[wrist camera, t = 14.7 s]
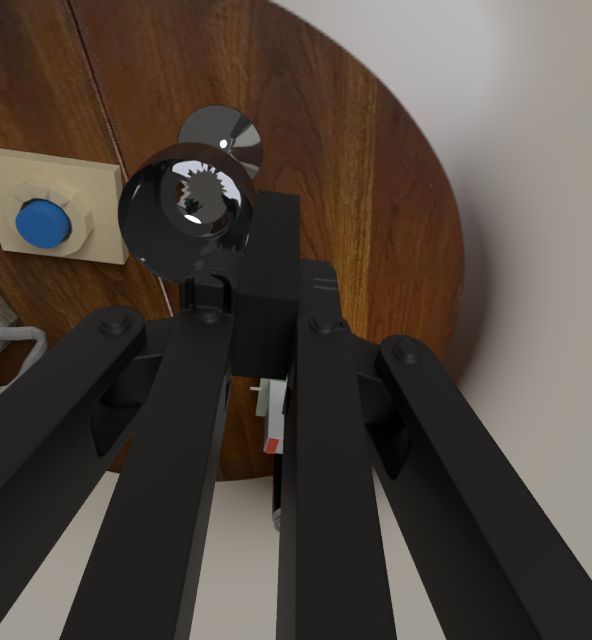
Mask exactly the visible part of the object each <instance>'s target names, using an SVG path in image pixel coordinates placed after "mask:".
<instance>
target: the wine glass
mask: <svg viewBox="0 0 592 640" xmlns="http://www.w3.org/2000/svg"><path fill="white" fill-rule="evenodd" d="M262 155H263V151H262V143H261V139H260V136H259V134H258V131H257V130H256V128H255V126H254V125H253V123H252V122H251V121H250V120H249V119H248V118H247V117H246V116H245V115H244V114H242V113H241V112H239V111H237V110H236V109H234V108H231V107H228V106H224V105H208V106H204V107H202V108H199V109H197V110H196V111H194V112H193V113H191V114H190V115H189V116H188V118H187V119H186V120H185V122H184V123H183V125H182V127H181V130H180V132H179V138H178V144H174V145H172V146H169V147H167V148H165V149H163V150H161V151H159V152H157V153H156V154H154V155H153V156H151V157H150V158H148V159H147V160H146V161H145V162H144V163H143V164H142V165H141V166H140V167H139V168H138V169H137V170H136V171H135V173H134V174H133V175H132V176H131V178H130V179H129V180H128V182H127V184H126V185H125V187H124V189H123V190H122V193H121V196H120V199H119V203H118V212H117V215H118V225H119V228H120V232H121V236H122V238H123V240H124V242H125V244H126V246H127V247H128V249H129V250H130V252H131V253H132V255H133V256H134V257H135V258H136V259H137V260H138V261H139V262H140V264H142V265H143V266H144V267H145V268H146V269H148V270H149V271H150V272H152V273H154V274H155V275H157V276H159V277H160V278H162V279H165V280H167V281H169V282H172V283H176V284H179V281H180V279H181V278H182V277H183V276H184V275H186V274H188V273H190V272H192V271H197V270H201V269H202V266H203V263H204V260H205V257H206V256H207V255H208V254H210V253H211V252H212V251H214V250H215V249H219V250H227V251H235V252H243V253H245V251H246V246H247V241H248V236H249V231H250V226H251V221H252V216H253V211H254V206H255V202H256V197H257V194H256V190H255V187H254V184H253V182H252V180H253V178H254V177H255V176H256V174H257V172H258V170H259V169H260V166H261V162H262Z"/></svg>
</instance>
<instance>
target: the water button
mask: <svg viewBox="0 0 592 640" xmlns="http://www.w3.org/2000/svg"><path fill="white" fill-rule="evenodd" d="M15 224H16V228H17V230H18V232H19V234H20V235H21V236H22V237H23V239H25V240H26V241H27V242H28V243H30V244H32V245H34V246H36V247H39V248H46V249H47V248H53V247H55V246H57V245H58V244H59V243H60V242H61V241H62V240H63V239H64V238H65V236H66V235H67V234H68V233H69V230H70V222H69V219H68V217H67V215H66V214H65V213H64V211H63V210H62V209H61V208H59V207H58V206H57V205H55V204H53V203H51V202H48V201H42V200H38V201H34V202H31V203H30V204H29V205H27V206H26V207H25V208H24V209H23V210H22V211H20V212H19V213H18V214H17V216H16V220H15Z"/></svg>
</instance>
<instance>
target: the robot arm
mask: <svg viewBox="0 0 592 640" xmlns="http://www.w3.org/2000/svg"><path fill="white" fill-rule="evenodd" d="M179 292H180V312H179V314H177V315H175V316H173V317H170V318H165V319H159V320H149V321H145V318H144V316H143V314H142V313H141V312H140V311H139V310H136V309H134V308H132V307H127V306H120V305H118V306H108V307H104V308H101V309H98V310H96V311H94V312H93V313H91V314H89V315H88V316H87V317H86V318H84V319H83V320H82V321H81V322H80V323H79V324H78V325H77V326H76V327H74V328H73V329H72V330H71V331H70V332H69V333H68V334H67V335H66V336H64V337H63V338H62V339H61V340H60V341H59V342H58V343H57V344H55V345H54V346H53V347H52V348H51V349H50V350H49V351H48V352H47V353H45V354H44V355H43V356H42V357H41V358H40V359H39V360H38V361H37V362H35V363H34V364H33V365H32V366H31V367H30V368H29V369H28V370H26V371H25V372H24V373H23V374H22V375H21V376H20V377H19V378H18V379H16V380H15V381H14V382H13V383H12V384H11V385H10V386H9V387H8V388H6V389H5V390H4V391H3V392H2V393H1V394H0V623H1V622H2V620H3V619H4V617H5V616H6V614H7V613H8V611H9V610H10V609H11V607H12V606H13V604H14V603H15V601H16V600H17V598H18V597H19V596H20V594H21V593H22V591H23V590H24V588H25V587H26V586H27V584H28V583H29V581H30V580H31V578H32V577H33V575H34V574H35V573H36V571H37V570H38V568H39V567H40V565H41V564H42V562H43V561H44V560H45V558H46V557H47V555H48V554H49V552H50V551H51V550H52V548H53V547H54V545H55V544H56V542H57V541H58V540H59V538H60V537H61V535H62V534H63V532H64V531H65V529H66V528H67V527H68V525H69V524H70V522H71V521H72V519H73V518H74V517H75V515H76V514H77V512H78V511H79V509H80V508H81V506H82V505H83V504H84V502H85V500H86V499H87V498H88V496H89V495H90V494H91V492H92V491H93V489H94V488H95V486H96V485H97V483H98V482H99V481H100V479H101V478H102V476H103V475H104V473H105V472H106V471H107V469H108V468H109V466H110V465H111V463H112V462H113V460H114V459H115V458H116V456H117V455H118V453H119V452H120V450H121V449H122V447H123V446H124V445H125V443H126V442H127V440H128V439H129V437H130V436H131V435H132V433H133V432H134V430H135V429H136V427H137V429H136V432H135V434H134V437H133V440H132V443H131V445H130V448H129V451H128V454H127V456H126V459H125V462H124V464H123V467H122V470H121V473H120V475H119V478H118V481H117V484H116V486H115V489H114V492H113V495H112V497H111V500H110V503H109V506H108V508H107V511H106V514H105V517H104V519H103V522H102V525H101V528H100V530H99V533H98V535H97V538H96V541H95V544H94V546H93V549H92V552H91V555H90V557H89V560H88V563H87V565H86V568H85V571H84V574H83V576H82V579H81V582H80V585H79V587H78V590H77V593H76V596H75V598H74V601H73V604H72V606H71V609H70V612H69V615H68V618H67V620H66V623H65V626H64V628H63V631H62V634H61V636H60V639H59V640H189V637H190V631H191V625H192V619H193V613H194V607H195V601H196V595H197V588H198V583H199V576H200V571H201V564H202V558H203V552H204V546H205V541H206V535H207V528H208V522H209V516H210V510H211V503H212V498H213V492H214V486H215V480H216V474H217V468H218V462H219V456H220V450H221V444H222V438H223V432H224V426H225V420H226V414H227V408H228V402H229V396H230V389H231V376H243V377H253V378H263V379H273V380H283V381H286V380H287V386H286V391H285V397H284V403H283V408H282V414H284V431H283V458H282V485H281V513H280V540H279V541H280V542H279V568H278V595H277V622H276V640H397V636H396V629H395V622H394V615H393V609H392V602H391V595H390V589H389V582H388V575H387V569H386V563H385V556H384V549H383V542H382V536H381V530H380V522H379V517H378V509H377V503H376V496H375V490H374V483H373V476H372V469H371V463H370V458H371V460H372V463H373V465H374V468H375V470H376V472H377V475H378V477H379V480H380V482H381V484H382V487H383V489H384V492H385V494H386V496H387V499H388V501H389V503H390V506H391V508H392V511H393V513H394V516H395V518H396V520H397V522H398V525H399V528H400V530H401V532H402V535H403V537H404V539H405V542H406V544H407V546H408V549H409V551H410V554H411V556H412V559H413V561H414V563H415V566H416V568H417V571H418V573H419V575H420V578H421V580H422V583H423V585H424V587H425V590H426V592H427V594H428V597H429V599H430V602H431V604H432V606H433V609H434V611H435V614H436V616H437V618H438V621H439V623H440V625H441V628H442V630H443V633H444V635H445V637H446V640H592V580H591V579H590V577H589V576H588V574H587V573H586V571H585V570H584V569H583V567H582V566H581V564H580V563H579V561H578V560H577V558H576V557H575V556H574V554H573V553H572V551H571V550H570V548H569V547H568V546H567V544H566V543H565V541H564V540H563V538H562V537H561V536H560V534H559V533H558V531H557V530H556V528H555V527H554V525H553V524H552V523H551V521H550V520H549V518H548V517H547V515H546V514H545V513H544V511H543V510H542V508H541V507H540V505H539V504H538V503H537V501H536V500H535V498H534V497H533V495H532V494H531V493H530V491H529V490H528V488H527V487H526V485H525V484H524V482H523V481H522V480H521V478H520V477H519V475H518V474H517V472H516V471H515V470H514V468H513V467H512V465H511V464H510V463H509V461H508V459H507V458H506V457H505V455H504V454H503V452H502V451H501V449H500V448H499V447H498V445H497V444H496V442H495V441H494V440H493V438H492V437H491V435H490V434H489V432H488V431H487V429H486V428H485V427H484V425H483V424H482V422H481V421H480V419H479V418H478V417H477V415H476V414H475V412H474V411H473V409H472V408H471V406H470V405H469V404H468V402H467V401H466V399H465V398H464V397H463V395H462V394H461V392H460V391H459V389H458V388H457V386H456V385H455V384H454V382H453V381H452V379H451V378H450V376H449V375H448V373H447V372H446V371H445V369H444V368H443V366H442V365H441V363H440V362H439V361H438V359H437V358H436V356H435V355H434V353H433V352H432V351H431V350H430V349H429V348H428V347H427V345H426V344H424V343H422V342H421V341H419V340H417V339H415V338H412V337H409V336H406V335H392V336H387V337H386V338H385V339H383V340H382V342H381V345H379V344H376V343H373V342H370V341H367V340H364V339H362V338H360V337H358V336H356V335H355V334H353V333H352V332H351V330H350V327H349V324H348V322H347V321H346V320H345V319H344V318H343V317H342V313H341V305H340V298H339V291H338V283H337V276H336V271H335V269H334V268H333V267H332V266H331V265H330V263H329V262H327V261H318V260H310V259H302V258H300V196H299V195H292V194H284V193H277V192H270V191H262V190H258V192H257V197H256V202H255V206H254V211H253V216H252V221H251V226H250V231H249V236H248V241H247V246H246V251H245V253H243V252H235V251H227V250H219V249H215V250H214V251H212V252H211V253H210V254H208V255H207V256H206V257H205V260H204V263H203V266H202V269H201V270H197V271H192V272H190V273H188V274H186V275H184V276H183V277H182V278H181V279H180V281H179Z"/></svg>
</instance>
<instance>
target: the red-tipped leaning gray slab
mask: <svg viewBox="0 0 592 640" xmlns="http://www.w3.org/2000/svg"><path fill="white" fill-rule="evenodd" d="M286 386H287V383H286V382H279V381H272V380H270V383H269V387H268V390H267V394H266V408H265V428H264V447H263V451H264V452H265V453H269V454H275V453H279V454H283V431H284V414H282V408H283V403H284V397H285V391H286Z"/></svg>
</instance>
